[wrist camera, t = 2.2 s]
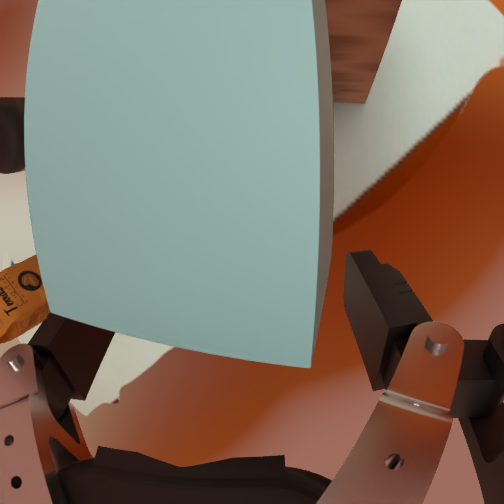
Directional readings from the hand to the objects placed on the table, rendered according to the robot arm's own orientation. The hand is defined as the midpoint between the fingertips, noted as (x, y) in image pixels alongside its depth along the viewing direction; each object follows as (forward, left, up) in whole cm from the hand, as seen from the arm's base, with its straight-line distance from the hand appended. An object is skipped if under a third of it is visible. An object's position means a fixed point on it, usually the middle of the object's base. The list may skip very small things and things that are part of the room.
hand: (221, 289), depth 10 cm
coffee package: (-54, -18, -31) cm, 64 cm away
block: (+1, +14, +2) cm, 14 cm away
